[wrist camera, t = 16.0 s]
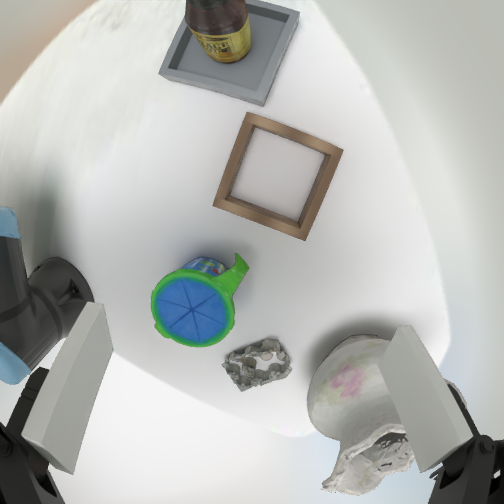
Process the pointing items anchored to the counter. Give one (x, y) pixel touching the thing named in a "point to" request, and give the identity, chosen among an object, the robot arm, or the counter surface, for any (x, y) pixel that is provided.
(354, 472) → the ceramic pitcher
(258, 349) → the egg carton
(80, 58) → the counter surface
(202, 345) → the snack cup
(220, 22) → the sauce bottle
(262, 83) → the tray
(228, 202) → the square brown frame
